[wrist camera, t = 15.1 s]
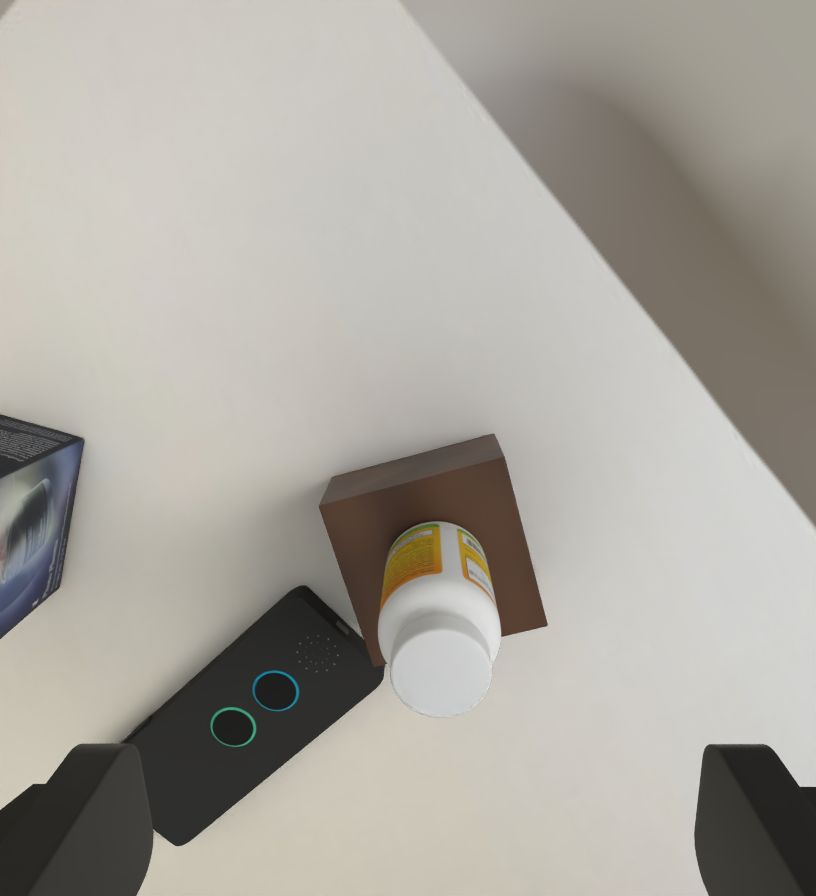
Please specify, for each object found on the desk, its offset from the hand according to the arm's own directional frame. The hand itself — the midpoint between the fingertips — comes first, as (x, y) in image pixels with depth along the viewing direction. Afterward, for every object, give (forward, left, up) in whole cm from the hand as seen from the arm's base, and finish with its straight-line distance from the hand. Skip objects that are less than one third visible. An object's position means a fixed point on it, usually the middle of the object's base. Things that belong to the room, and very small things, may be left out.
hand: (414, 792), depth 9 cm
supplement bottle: (-1, +8, -24) cm, 25 cm away
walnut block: (-1, +8, -29) cm, 30 cm away
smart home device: (+12, +21, -29) cm, 38 cm away
